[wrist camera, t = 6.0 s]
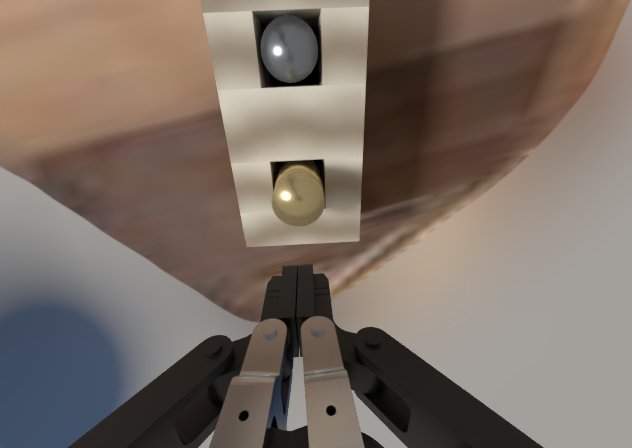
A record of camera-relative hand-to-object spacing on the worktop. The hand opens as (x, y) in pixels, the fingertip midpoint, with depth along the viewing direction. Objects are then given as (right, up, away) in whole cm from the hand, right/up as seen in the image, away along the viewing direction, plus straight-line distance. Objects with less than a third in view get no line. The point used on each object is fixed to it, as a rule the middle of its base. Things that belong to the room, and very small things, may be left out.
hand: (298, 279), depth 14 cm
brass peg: (-1, +8, +16) cm, 18 cm away
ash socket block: (-1, +15, +17) cm, 22 cm away
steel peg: (-1, +20, +14) cm, 24 cm away
